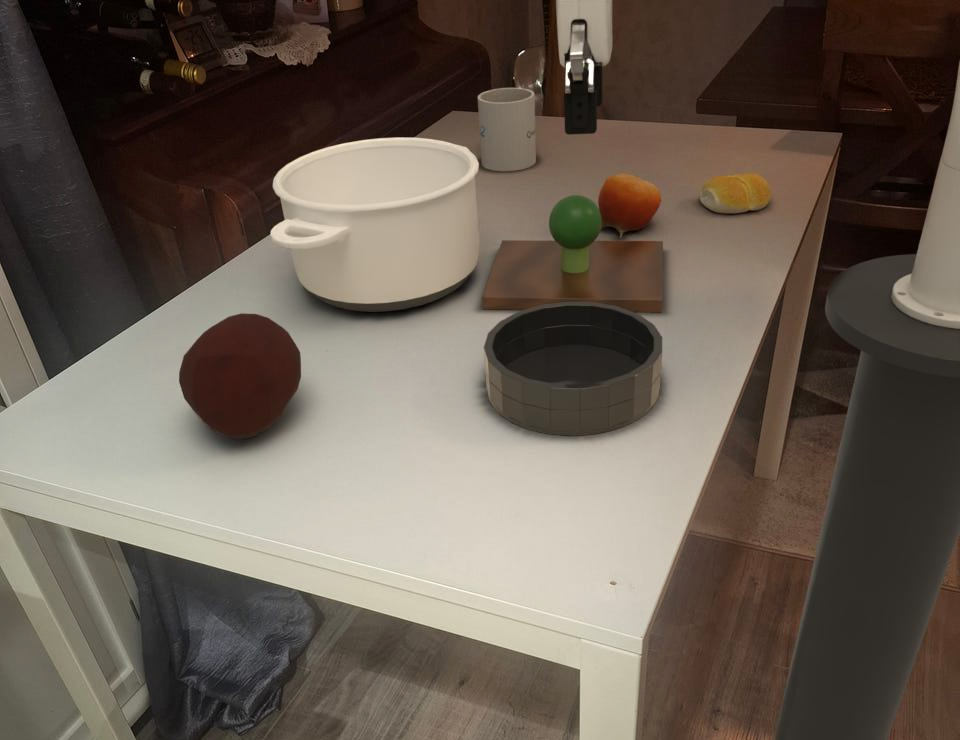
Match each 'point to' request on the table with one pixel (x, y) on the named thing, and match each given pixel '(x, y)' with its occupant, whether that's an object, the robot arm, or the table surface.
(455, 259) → the pot
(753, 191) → the bread roll
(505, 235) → the table surface
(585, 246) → the broccoli
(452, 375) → the table surface
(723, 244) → the table surface
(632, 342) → the pan
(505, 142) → the mug
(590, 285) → the board
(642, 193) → the fruit
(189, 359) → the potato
